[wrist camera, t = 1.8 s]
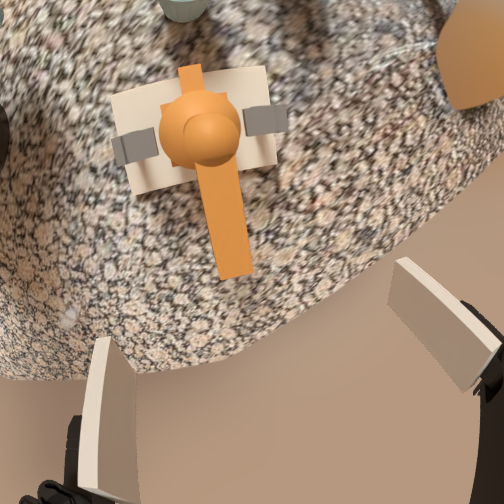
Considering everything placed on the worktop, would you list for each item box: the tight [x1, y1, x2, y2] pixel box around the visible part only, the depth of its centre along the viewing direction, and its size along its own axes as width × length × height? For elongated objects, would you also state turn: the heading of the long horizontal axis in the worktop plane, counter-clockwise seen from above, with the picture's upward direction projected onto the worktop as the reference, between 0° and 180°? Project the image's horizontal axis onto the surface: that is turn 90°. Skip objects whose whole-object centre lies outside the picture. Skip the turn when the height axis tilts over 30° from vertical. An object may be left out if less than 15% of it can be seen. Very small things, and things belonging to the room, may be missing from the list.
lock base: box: [110, 66, 288, 196], centre depth 29 cm, size 20×14×11 cm
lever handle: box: [159, 64, 253, 280], centre depth 23 cm, size 8×16×17 cm, turn 8°
